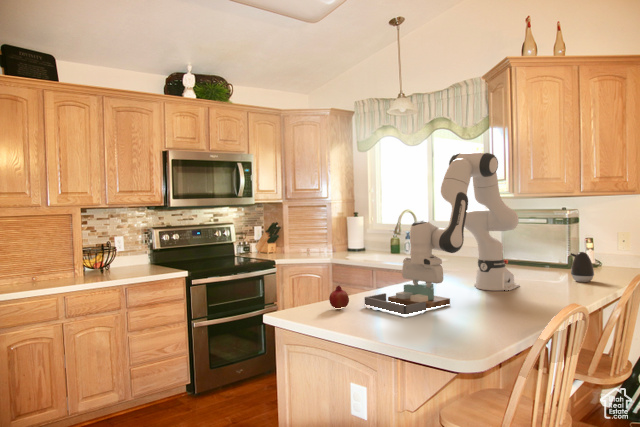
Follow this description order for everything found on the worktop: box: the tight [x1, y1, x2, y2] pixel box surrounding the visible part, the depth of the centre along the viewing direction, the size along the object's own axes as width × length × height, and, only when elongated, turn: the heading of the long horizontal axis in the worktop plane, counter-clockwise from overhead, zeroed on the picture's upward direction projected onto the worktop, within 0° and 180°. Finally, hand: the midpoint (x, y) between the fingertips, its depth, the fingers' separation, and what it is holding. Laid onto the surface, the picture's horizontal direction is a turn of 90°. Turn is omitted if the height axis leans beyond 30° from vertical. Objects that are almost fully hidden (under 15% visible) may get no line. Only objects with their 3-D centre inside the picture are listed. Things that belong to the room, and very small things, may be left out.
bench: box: [387, 294, 451, 308], centre depth 187 cm, size 16×20×3 cm
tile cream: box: [411, 294, 428, 302], centre depth 181 cm, size 5×5×2 cm
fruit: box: [328, 285, 350, 309], centre depth 183 cm, size 8×8×10 cm
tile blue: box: [395, 290, 413, 299], centre depth 188 cm, size 5×5×2 cm
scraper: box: [403, 282, 435, 300], centre depth 188 cm, size 9×14×5 cm, turn 35°
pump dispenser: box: [569, 251, 595, 283], centre depth 226 cm, size 10×10×15 cm
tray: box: [364, 292, 426, 314], centre depth 179 cm, size 12×23×4 cm, turn 35°
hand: (422, 291), depth 188 cm, fingers closed on scraper, 3 cm apart
